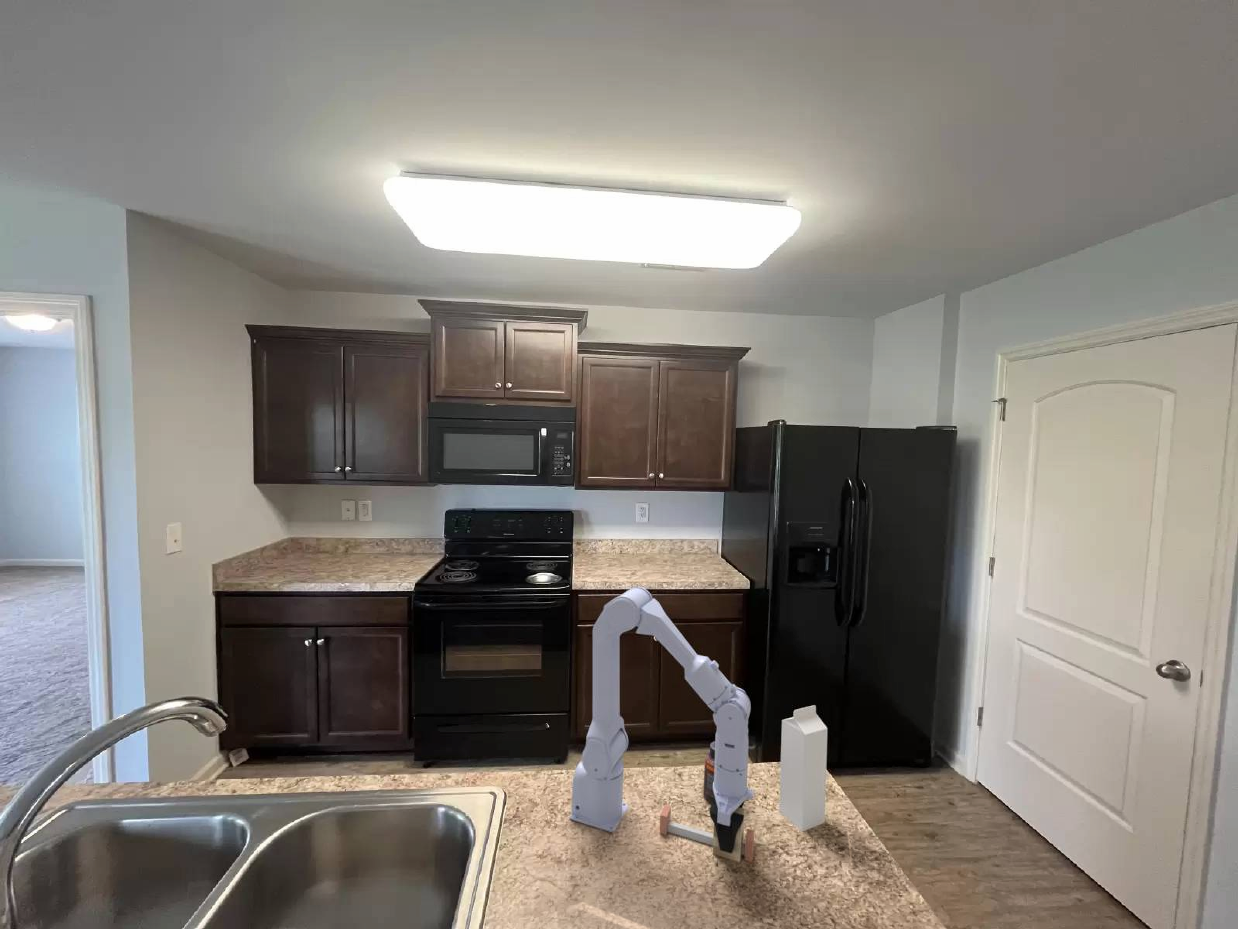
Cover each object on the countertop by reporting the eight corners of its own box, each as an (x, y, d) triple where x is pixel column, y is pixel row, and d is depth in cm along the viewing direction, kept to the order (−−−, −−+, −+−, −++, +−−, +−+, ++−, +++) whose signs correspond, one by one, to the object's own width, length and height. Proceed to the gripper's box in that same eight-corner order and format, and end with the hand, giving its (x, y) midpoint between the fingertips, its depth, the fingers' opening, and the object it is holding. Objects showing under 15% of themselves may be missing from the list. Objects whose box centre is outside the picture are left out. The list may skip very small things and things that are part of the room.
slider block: (712, 854, 85) (713, 819, 86) (717, 834, 90) (718, 801, 90) (739, 862, 84) (740, 826, 84) (743, 842, 88) (744, 808, 88)
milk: (778, 816, 97) (781, 703, 97) (801, 807, 100) (803, 698, 100) (802, 837, 91) (805, 717, 92) (825, 827, 94) (828, 711, 95)
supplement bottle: (733, 814, 97) (735, 756, 97) (702, 809, 98) (704, 752, 98) (732, 795, 103) (734, 740, 103) (703, 790, 104) (705, 736, 104)
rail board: (653, 849, 87) (653, 825, 87) (666, 816, 96) (667, 795, 96) (751, 881, 81) (752, 855, 81) (756, 843, 89) (757, 820, 90)
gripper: (749, 792, 79) (747, 878, 79) (758, 746, 92) (756, 819, 92) (706, 781, 81) (703, 864, 81) (720, 738, 95) (718, 809, 95)
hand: (728, 839), depth 87 cm, fingers closed on slider block, 5 cm apart
